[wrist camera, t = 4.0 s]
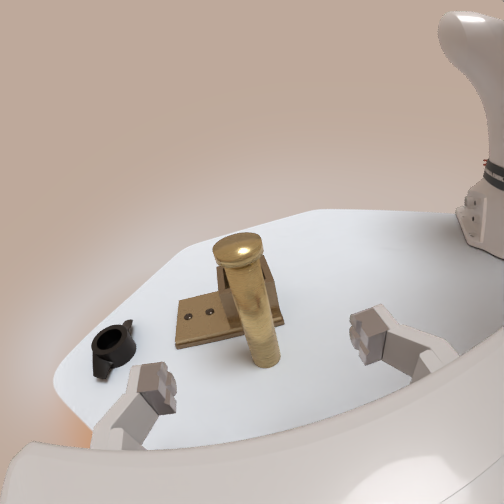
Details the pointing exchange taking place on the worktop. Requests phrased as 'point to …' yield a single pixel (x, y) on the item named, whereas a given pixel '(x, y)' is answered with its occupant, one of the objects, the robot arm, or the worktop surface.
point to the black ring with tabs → (112, 348)
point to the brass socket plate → (218, 312)
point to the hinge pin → (249, 294)
